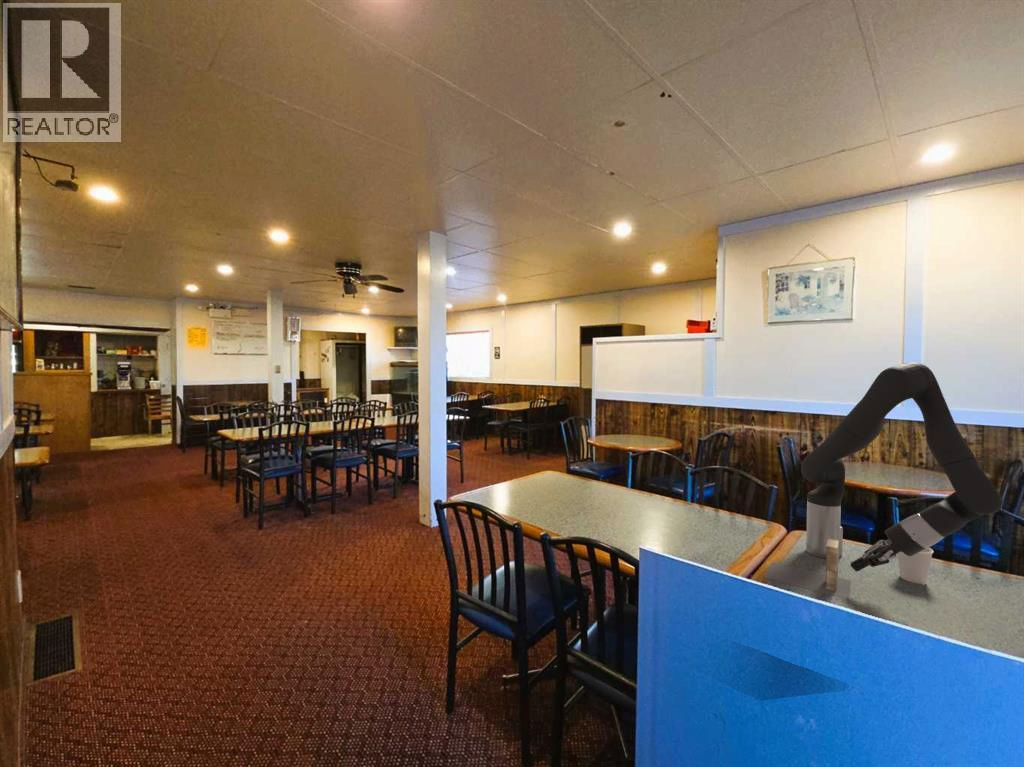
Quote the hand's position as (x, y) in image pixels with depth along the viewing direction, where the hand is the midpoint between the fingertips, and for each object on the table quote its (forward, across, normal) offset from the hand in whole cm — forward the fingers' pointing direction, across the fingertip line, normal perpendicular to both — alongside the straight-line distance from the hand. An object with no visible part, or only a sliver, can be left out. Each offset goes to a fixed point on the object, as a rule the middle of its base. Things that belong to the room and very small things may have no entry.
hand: (853, 567), depth 123 cm
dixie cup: (-5, -20, +15) cm, 25 cm away
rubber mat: (+12, 0, -3) cm, 13 cm away
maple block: (+8, 0, +1) cm, 8 cm away
